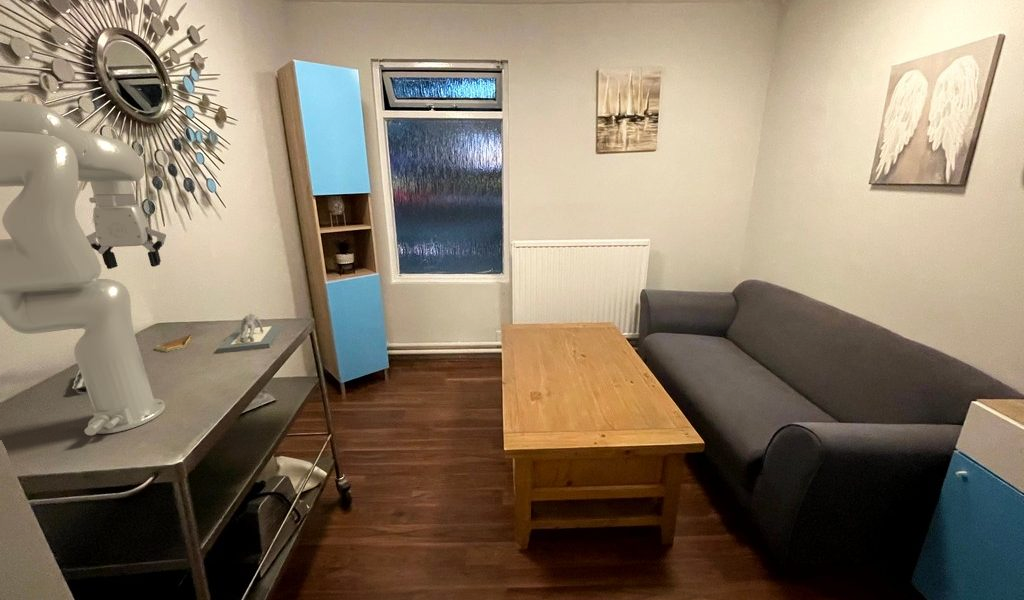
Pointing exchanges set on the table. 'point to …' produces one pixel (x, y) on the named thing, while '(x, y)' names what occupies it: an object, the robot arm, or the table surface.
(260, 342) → the base plate
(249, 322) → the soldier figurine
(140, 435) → the table surface
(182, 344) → the shard
